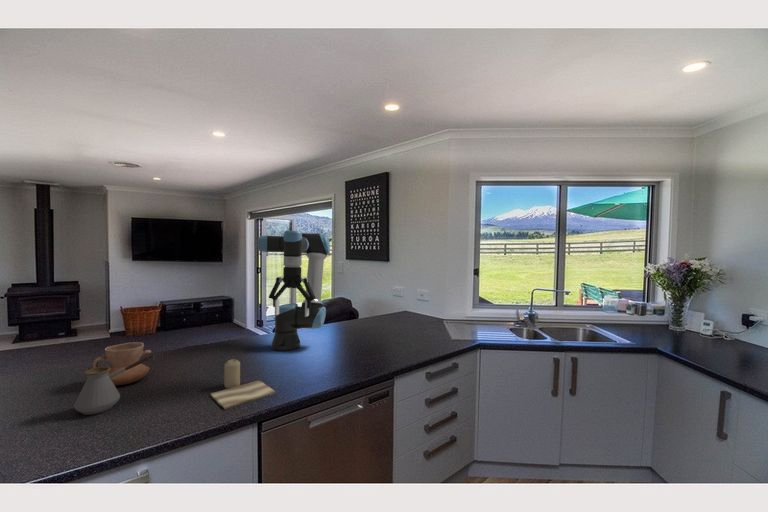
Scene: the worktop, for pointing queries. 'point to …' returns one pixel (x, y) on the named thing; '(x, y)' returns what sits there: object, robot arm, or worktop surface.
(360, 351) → the worktop surface
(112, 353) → the stacked tan cups
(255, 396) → the birch board
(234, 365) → the candle
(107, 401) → the coffee pot
